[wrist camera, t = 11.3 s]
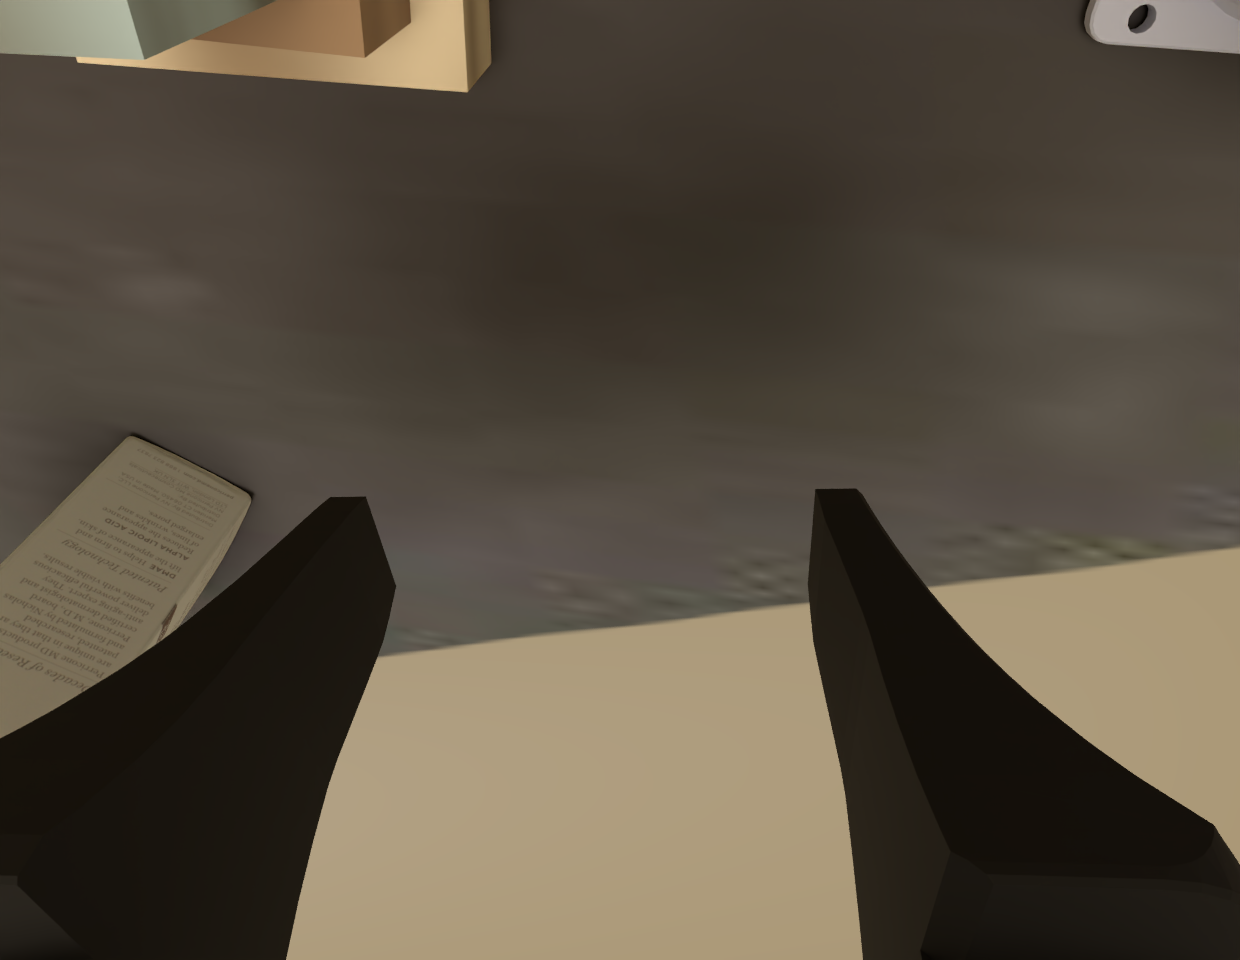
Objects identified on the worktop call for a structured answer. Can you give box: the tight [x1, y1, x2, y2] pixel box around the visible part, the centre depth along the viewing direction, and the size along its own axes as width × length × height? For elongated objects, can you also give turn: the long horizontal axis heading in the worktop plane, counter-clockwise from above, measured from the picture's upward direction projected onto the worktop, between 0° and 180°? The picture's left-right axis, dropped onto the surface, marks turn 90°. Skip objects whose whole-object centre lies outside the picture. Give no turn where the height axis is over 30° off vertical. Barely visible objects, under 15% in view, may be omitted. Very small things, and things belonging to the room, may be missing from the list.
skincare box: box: [0, 436, 251, 738], centre depth 24 cm, size 6×4×12 cm
